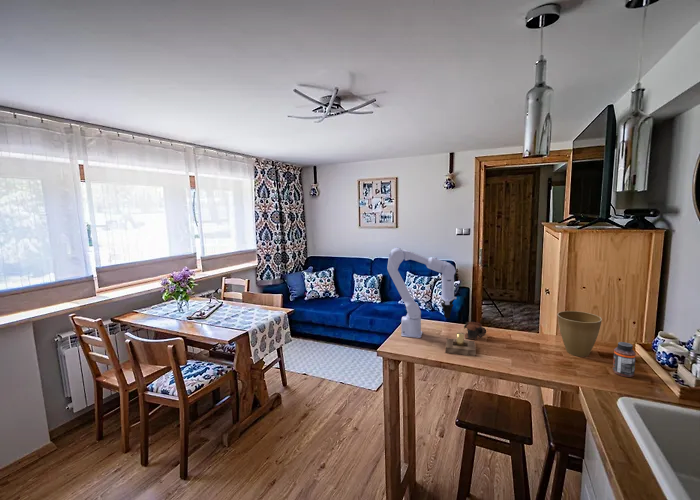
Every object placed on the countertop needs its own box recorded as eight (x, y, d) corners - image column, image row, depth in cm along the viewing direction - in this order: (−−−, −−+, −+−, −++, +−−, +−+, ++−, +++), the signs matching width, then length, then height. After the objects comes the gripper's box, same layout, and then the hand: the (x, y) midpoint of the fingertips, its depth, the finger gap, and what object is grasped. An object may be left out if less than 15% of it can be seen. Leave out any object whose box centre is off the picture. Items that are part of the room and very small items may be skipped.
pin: (456, 350, 140) (456, 334, 139) (457, 347, 142) (457, 332, 142) (463, 351, 138) (463, 335, 138) (464, 348, 141) (464, 333, 140)
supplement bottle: (612, 368, 121) (614, 339, 119) (633, 372, 117) (636, 343, 116) (612, 374, 116) (614, 344, 115) (634, 379, 112) (636, 348, 111)
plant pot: (570, 343, 143) (572, 308, 142) (607, 356, 130) (610, 318, 128) (547, 349, 138) (549, 313, 136) (584, 364, 124) (586, 324, 122)
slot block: (445, 352, 138) (445, 347, 137) (446, 343, 147) (446, 338, 147) (475, 356, 134) (475, 350, 133) (474, 346, 143) (474, 341, 143)
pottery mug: (458, 337, 155) (460, 320, 158) (470, 342, 159) (472, 325, 162) (480, 338, 145) (481, 320, 148) (492, 343, 149) (494, 326, 152)
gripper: (456, 292, 146) (456, 320, 148) (456, 285, 160) (456, 311, 162) (440, 291, 149) (440, 319, 150) (442, 284, 162) (441, 310, 164)
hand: (447, 315), depth 156 cm, fingers open, 7 cm apart
